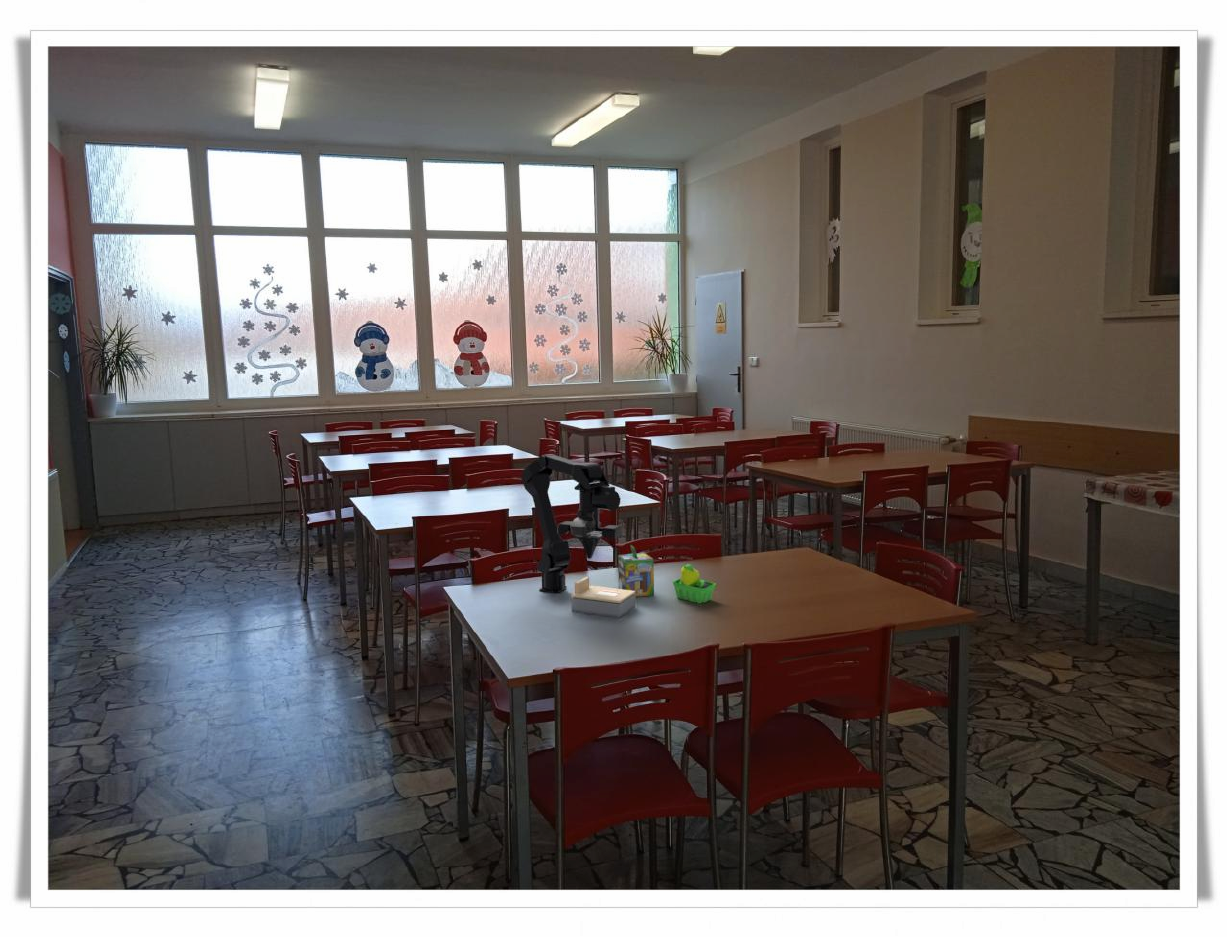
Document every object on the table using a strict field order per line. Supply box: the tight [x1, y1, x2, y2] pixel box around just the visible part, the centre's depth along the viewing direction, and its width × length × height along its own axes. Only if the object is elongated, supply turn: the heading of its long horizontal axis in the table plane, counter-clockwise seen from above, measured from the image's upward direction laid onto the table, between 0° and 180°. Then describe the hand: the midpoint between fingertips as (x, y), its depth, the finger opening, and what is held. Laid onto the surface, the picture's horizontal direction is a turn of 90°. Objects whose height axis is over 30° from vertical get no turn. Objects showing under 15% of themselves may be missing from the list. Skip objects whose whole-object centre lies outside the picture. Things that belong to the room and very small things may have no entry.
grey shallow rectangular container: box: [571, 594, 636, 619], centre depth 243 cm, size 15×11×4 cm
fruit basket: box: [672, 563, 717, 604], centre depth 253 cm, size 11×9×11 cm
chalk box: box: [617, 544, 655, 598], centre depth 259 cm, size 9×9×15 cm
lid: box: [571, 576, 635, 603], centre depth 243 cm, size 15×11×4 cm
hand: (589, 558), depth 250 cm, fingers closed
